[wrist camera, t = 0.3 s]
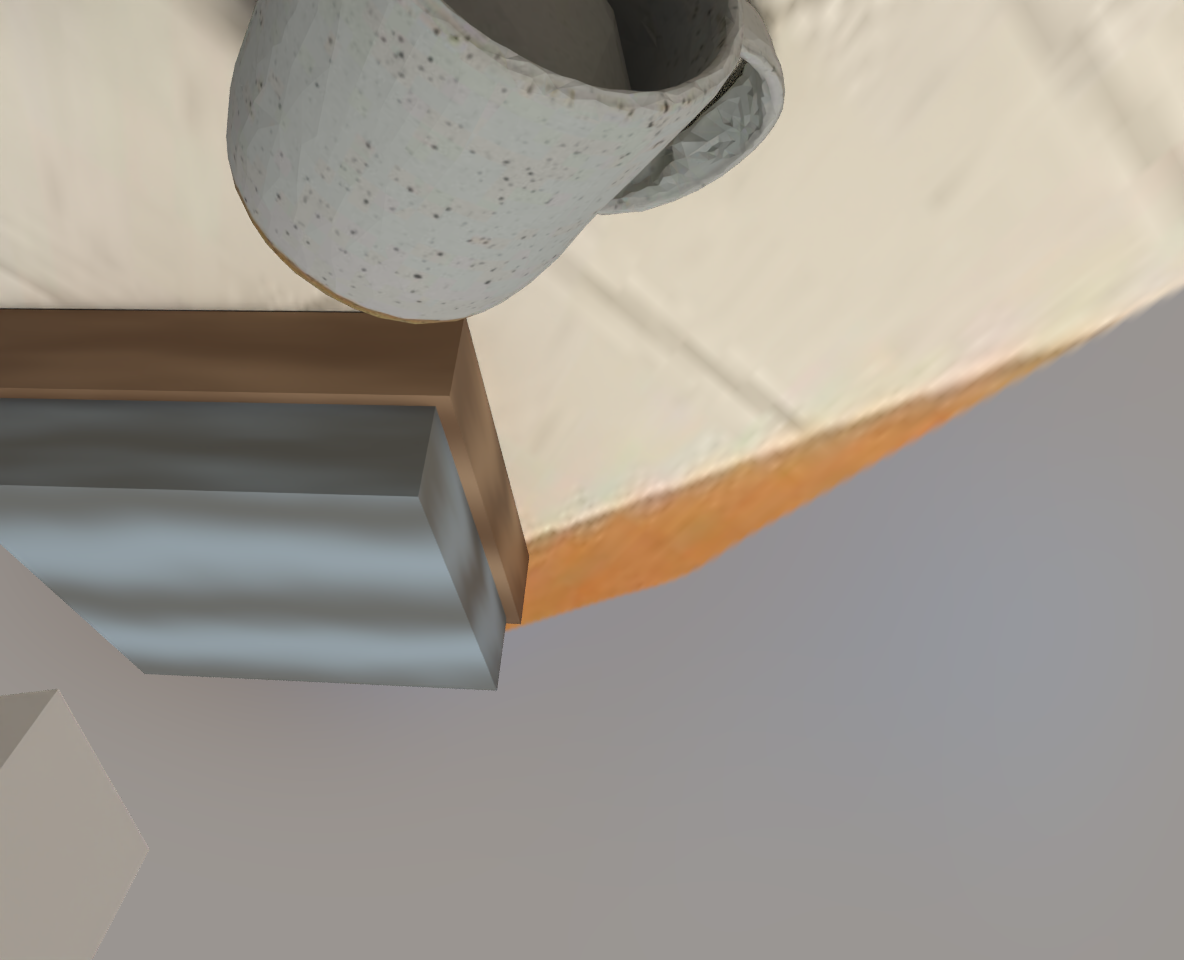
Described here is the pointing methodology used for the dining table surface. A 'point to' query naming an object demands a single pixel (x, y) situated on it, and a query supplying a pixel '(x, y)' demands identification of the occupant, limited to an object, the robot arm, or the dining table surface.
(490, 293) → the ceramic mug
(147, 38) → the dining table surface
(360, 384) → the grey and brown block
